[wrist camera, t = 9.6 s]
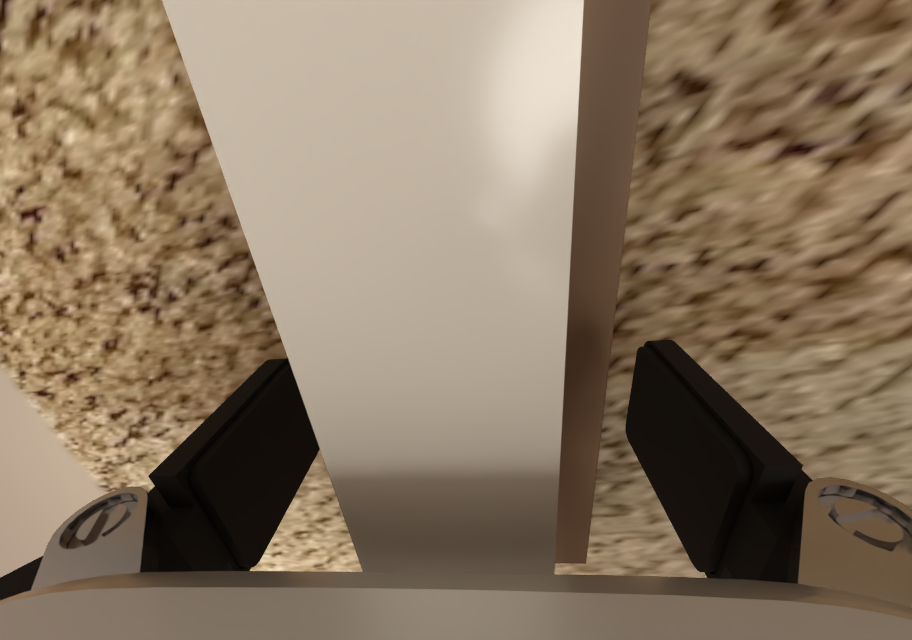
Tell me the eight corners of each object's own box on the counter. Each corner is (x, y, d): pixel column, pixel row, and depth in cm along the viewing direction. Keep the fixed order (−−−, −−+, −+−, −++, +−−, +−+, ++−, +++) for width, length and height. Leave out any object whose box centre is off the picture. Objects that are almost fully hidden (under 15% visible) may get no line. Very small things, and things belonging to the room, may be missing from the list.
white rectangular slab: (500, 62, 10) (601, -349, 2) (512, 465, 17) (544, 758, 9) (398, 75, 10) (81, -231, 2) (451, 466, 17) (426, 751, 9)
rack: (649, -124, 9) (723, -246, 6) (584, 505, 19) (602, 563, 16) (245, -56, 10) (156, -135, 7) (390, 506, 20) (376, 561, 17)
